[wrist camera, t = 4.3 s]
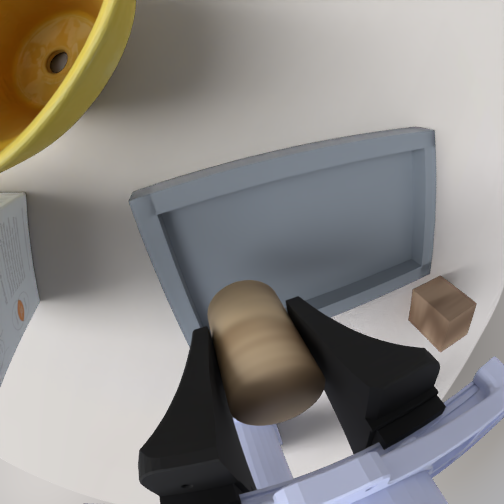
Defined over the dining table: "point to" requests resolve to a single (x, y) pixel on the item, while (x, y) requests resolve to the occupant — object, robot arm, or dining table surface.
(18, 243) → the small box
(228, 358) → the oak peg
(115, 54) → the plant pot
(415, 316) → the walnut block
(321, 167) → the parts tray
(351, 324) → the dining table surface
